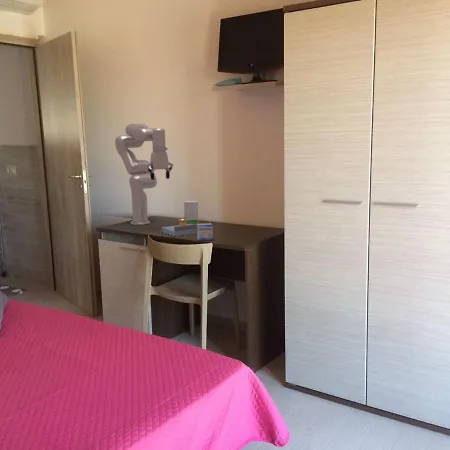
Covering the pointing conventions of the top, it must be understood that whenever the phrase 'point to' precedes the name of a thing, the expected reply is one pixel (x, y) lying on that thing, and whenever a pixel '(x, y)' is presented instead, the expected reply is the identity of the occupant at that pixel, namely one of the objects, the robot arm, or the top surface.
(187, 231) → the jig
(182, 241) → the top surface
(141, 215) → the robot arm
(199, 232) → the medicine box
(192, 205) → the skincare box
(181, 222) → the bushing
